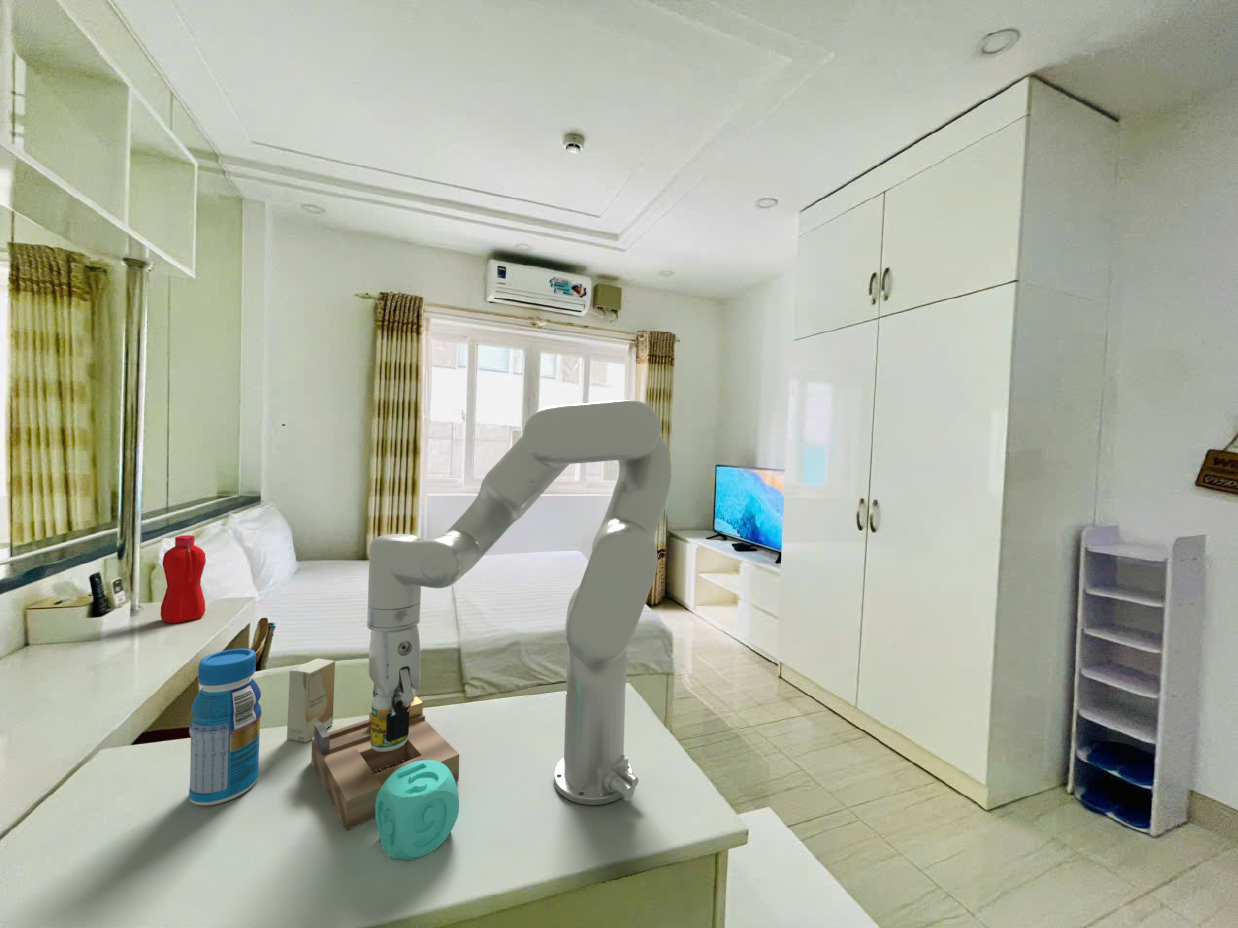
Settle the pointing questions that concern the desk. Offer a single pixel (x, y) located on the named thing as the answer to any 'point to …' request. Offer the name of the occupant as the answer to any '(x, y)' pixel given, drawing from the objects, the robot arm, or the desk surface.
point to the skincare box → (310, 698)
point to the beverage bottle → (225, 728)
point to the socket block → (370, 764)
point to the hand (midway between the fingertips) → (390, 728)
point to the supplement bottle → (382, 723)
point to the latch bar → (414, 711)
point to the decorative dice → (416, 809)
